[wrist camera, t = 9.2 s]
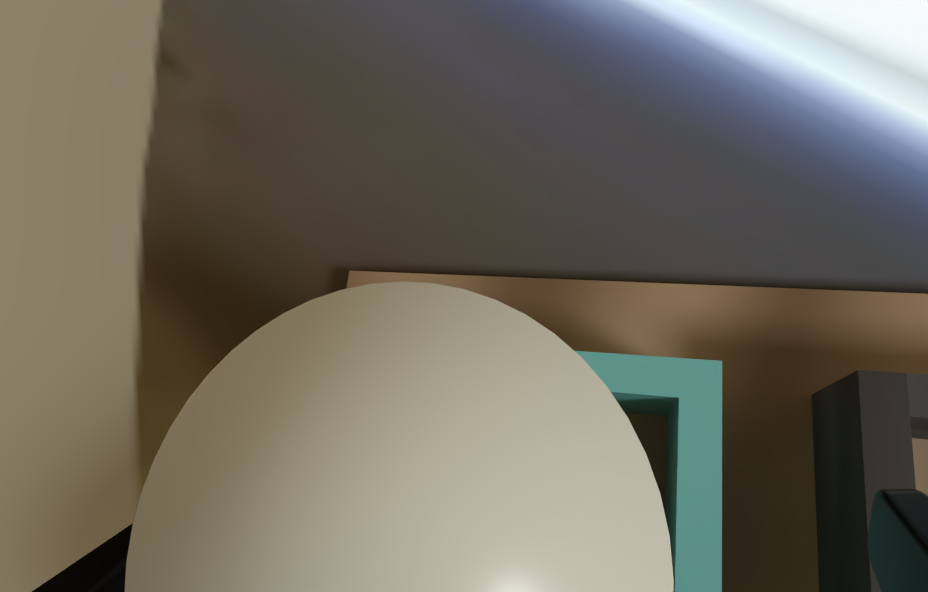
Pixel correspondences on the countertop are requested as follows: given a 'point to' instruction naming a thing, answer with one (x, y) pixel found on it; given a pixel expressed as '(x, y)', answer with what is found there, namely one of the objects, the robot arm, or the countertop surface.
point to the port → (680, 451)
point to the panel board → (765, 405)
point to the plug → (401, 460)
